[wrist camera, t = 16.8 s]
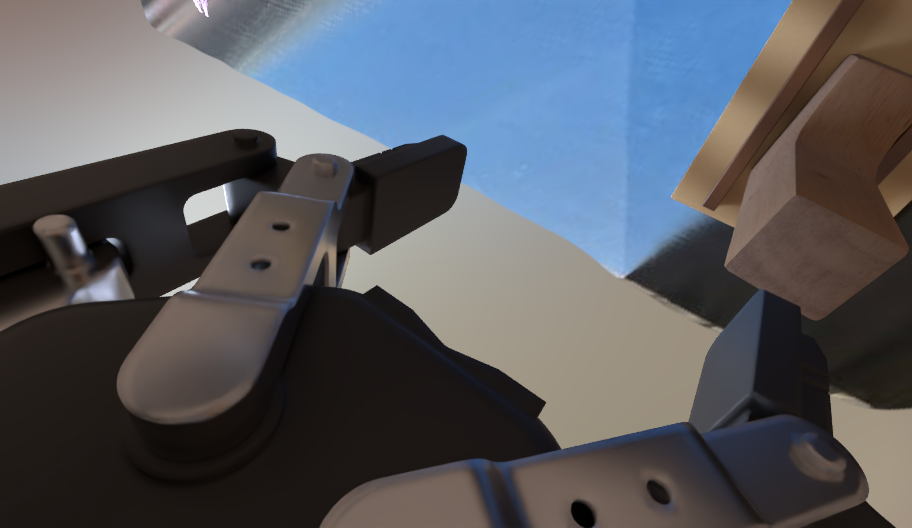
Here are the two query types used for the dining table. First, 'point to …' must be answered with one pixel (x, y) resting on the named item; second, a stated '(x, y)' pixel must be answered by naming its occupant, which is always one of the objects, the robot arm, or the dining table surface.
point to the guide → (800, 98)
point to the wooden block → (826, 193)
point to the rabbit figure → (202, 1)
